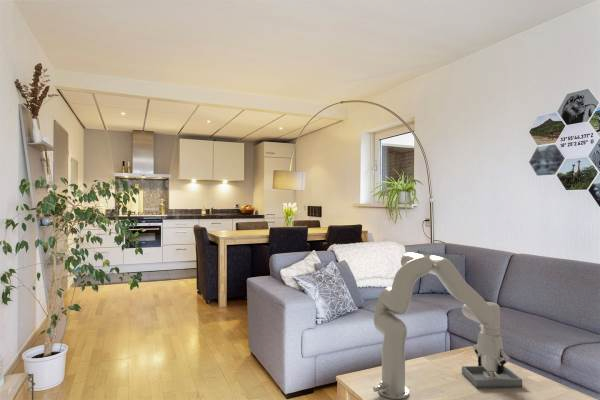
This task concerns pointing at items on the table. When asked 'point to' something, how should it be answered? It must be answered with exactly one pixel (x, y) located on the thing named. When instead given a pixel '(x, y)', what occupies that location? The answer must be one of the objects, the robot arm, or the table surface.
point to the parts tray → (480, 381)
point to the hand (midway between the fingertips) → (490, 369)
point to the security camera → (489, 367)
